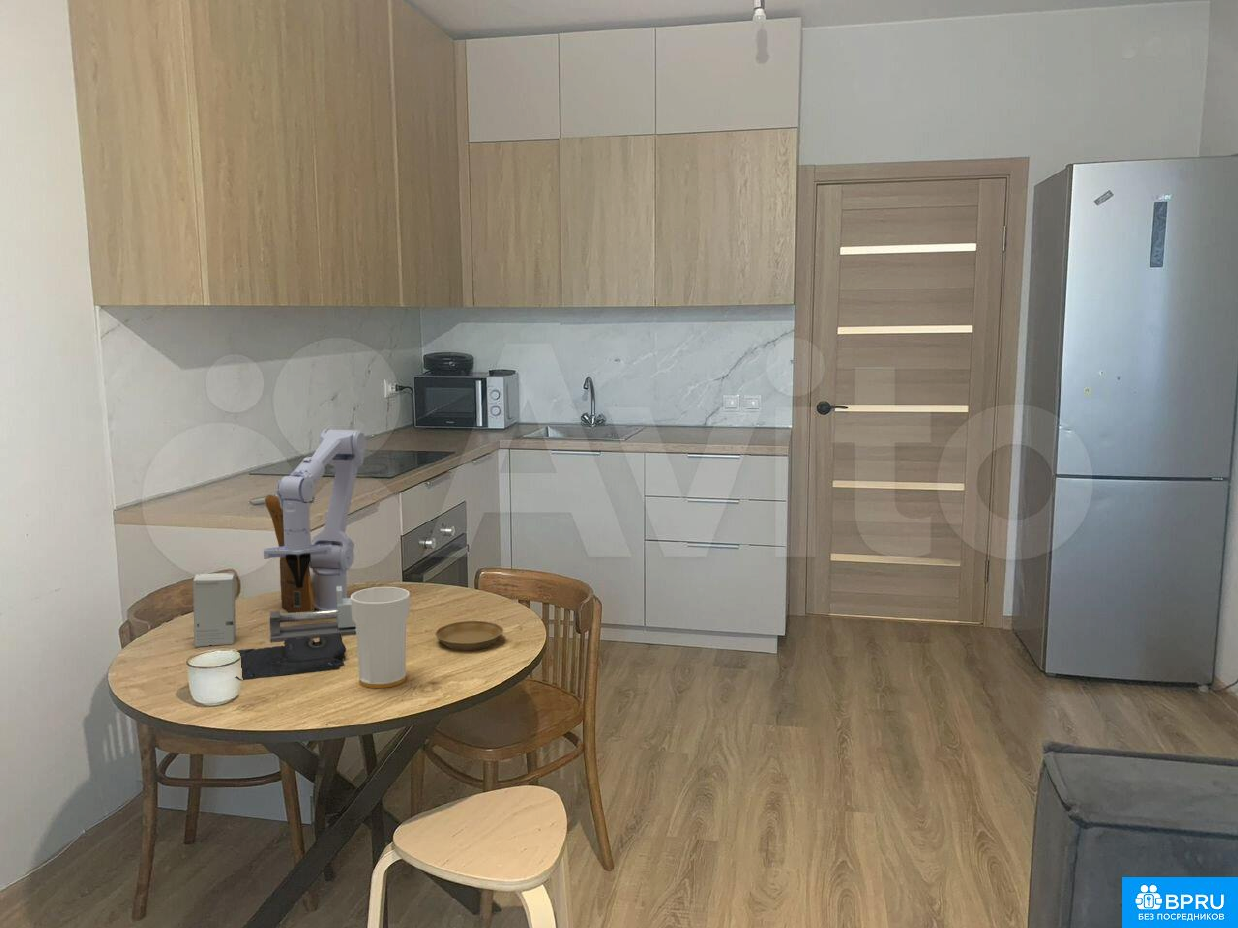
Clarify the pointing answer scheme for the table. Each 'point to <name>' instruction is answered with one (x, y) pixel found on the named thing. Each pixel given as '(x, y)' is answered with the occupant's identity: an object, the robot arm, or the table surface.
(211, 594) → the skincare box
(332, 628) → the board
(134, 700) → the table surface
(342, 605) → the sleeve
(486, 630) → the plant saucer
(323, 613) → the pipe
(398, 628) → the cup
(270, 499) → the pancake mix bag
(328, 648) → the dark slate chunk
